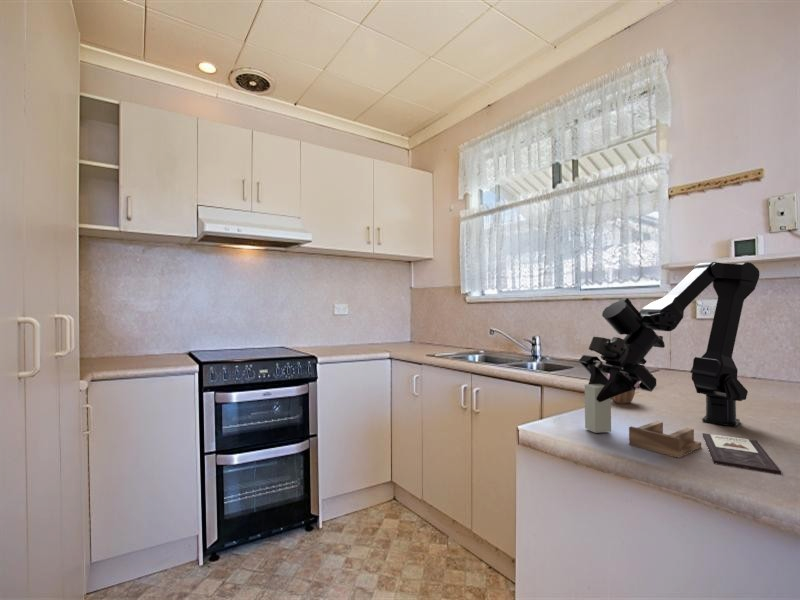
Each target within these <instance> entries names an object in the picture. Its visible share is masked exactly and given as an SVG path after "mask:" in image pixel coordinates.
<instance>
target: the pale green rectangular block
mask: <svg viewBox="0 0 800 600" xmlns="http://www.w3.org/2000/svg"><path fill="white" fill-rule="evenodd" d="M604 386H605V385H602V384H589V383H587V384H584V428H585V429H586V430H588V431H591V432H593V433H595V434H596V433H597V434H598V433H611V432H612V399H611V398H609V399H607V400H604V401H602V402H598V401H597V399H596V398H597V396H598V395H599V393H600V391H601V390H602V389H603V387H604Z"/></svg>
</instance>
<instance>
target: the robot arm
mask: <svg viewBox="0 0 800 600" xmlns="http://www.w3.org/2000/svg"><path fill="white" fill-rule="evenodd" d="M759 279H760V270H759V268H758V267H757V266H756V265H755V264H754V263H752V262H749V261H746V262H737V263H724V262H717V261H710V262H701V263H698V264H695V265H694V266H693V268H692V270H691V271H690V272H689V273H688V274H687V275H685V277H684V278H683V279H682V280H681V281H680V282H679V283H677V284H676V285H675V286H674V287H673V288H672V289H671V290H670V291H669V292H668V293H667V294H666V295H665V296H663V297H662V298H659V299H658V300H657V299H656V300H654V301H651V302H650V303H649V304H646V305H645V306H644V307H642V308H641V309H640V311H639V310H638V309H637V308H636V307H635V306H634V304H633V303H632V301H631V300H630V299H629V298H626V297H624V298H623V297H622V298H619V300H618V301H615V302H613V303H612V304H610V305H609V306H606V307H605V308H604V310H603V311H602V314H601V316H602V318H603V319H604V320H605V321H606V322H607V323H608V324H609V325H610V326H611V327H612V329H614V331H615V332H616V333H617V334H618V335H625V337H624V338H621V337H618V336H617V337H615V336H613V337H612V338H606V337H600V336H593V337H592V340H591V342H590V344H589V346H588V350H589V351H592V352H596V353H597V354H600V358H601V359H600V358H599V357H598V356H595V355H591V354H582V356H581V357H580V359H578V362H579V364H581V366H582V367H583V368H584V369H585V370H586V371H587V372H588V373H589V374H590V377H589V381H588V384H602V385H605V386H604V387H603V389H602V390H601V391H600V393H599V395H598V396H597V398H596V399H597V401H598V402H602V401H604V400H607V399H609V398H612V397H614V396H617V395H619V394H622V393H625V392H628V391H631V390H635V389H636V390H637V387H636V388H635V387H634V386H635V384H636V383H637V382H639V385H638V386H639V388H640V389H641V390H642V391H647V392H650V393H651V392H652V391H653V390H655V389H656V386H657V378H656V377H655V376H654V375H653V374H652V373H651V372H650V371H649V370H648V369H647V367H646V366H645V364H647V360H646V359H645V357H646V356H647V355H648V354H649V353H650V351H651V350H652V349H653V347H654V348H662V349H665V347H666V346H665V341H664V336H662V335H658V334H657V332H672V331H674V330H676V328H677V327H678V326H679V324H680V323H681V322H682V320H683V318H684V317H685V316H684V315H685V314H684V313H685V310H686V308H687V307H688V306H689V305H690V304H691V303H692V302H693V301H694V300H695V299H697V298H698V297H699V296H700V294H701V293H702V292H704V291H705V289H707V288H708V287H709V286H710V285H711V284H712V287H713V289H714V292H715V294H716V295H717V301H716V305H715V309H714V314H713V318H712V324H711V329H710V332H709V333H710V334H709V339H708V343H707V348H706V351H705V353H704V354H703V355H702V356H700V357H699V356H695V357H694V358H693V360H692V367H691V369H690V371H689V372H690V373H691V380H692V382H693V384H694V388H695V391H696V394H701V395H704V396H705V415H704V416H703V418H701V421H702V422H706V423H711V424H717V425H723V426H729V427H737V426H738V425H739V423H740V422H741V420H740V419H739V418H737V409H736V408H737V402H742V401H745V400H747V396H748V393H749V392H748V390H747V388H746V387H745V386H744V385H743V384H742V383H741V382H740V381H739V380H738V368H737V366H736V364H735V361H734V360H733V354H734V349H735V344H736V339H737V334H738V329H739V325H740V320H741V315H742V312H743V311H742V310H743V306H744V301H745V300H746V299H747V297H748V296H750V295H751V294H752V293H753V292H754V291H755V289H756V286H757V284H758V282H759ZM656 331H657V332H656ZM603 361H605V363H604V362H603ZM608 373H609V374H610V378H609V380H608V379H607V378H606V377H607V376H608ZM636 390H635V391H636Z"/></svg>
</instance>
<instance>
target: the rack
mask: <svg viewBox="0 0 800 600" xmlns="http://www.w3.org/2000/svg"><path fill="white" fill-rule="evenodd" d="M694 429H695V428H691V427H685V428H682V429H680V430H678V431H675V432H672V433H670V434H668V433H664V422H663V421H659V420H654V421H652V422H649V423H647V424H645V425H644V424H643V425H641V426H639V427H635V426H628V432H629V433H628V439H629V440H628V445H631V446H634V447H637V448H641V449H645V450H648V451H652V452H655V453H658V452H659V454H662V453H663V454H662V455H665V454H667V455H666V456H669V455H671V456H670V457H673V456H675V457H674V458H676V457H678V458H677V459H680V458H682V457H684V456H683V455H685V454H687V453H689V452H691V451H693V450H695V449H697V448H699V449H701V448H702V442H701V441H696V440H695V430H694ZM700 447H701V448H700ZM697 450H698V449H697ZM695 451H696V450H695ZM693 452H694V451H693ZM691 453H692V452H691ZM689 454H690V453H689ZM687 455H688V454H687ZM681 456H682V457H681ZM685 456H686V455H685ZM679 457H680V458H679Z"/></svg>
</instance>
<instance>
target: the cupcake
mask: <svg viewBox="0 0 800 600" xmlns="http://www.w3.org/2000/svg"><path fill="white" fill-rule="evenodd" d="M606 378H607V379H608V380H609V378H610V374H609V373H608V376H607V377H606ZM639 384H640V382H637V383H636V384H635V386H634V387H635V388H636V389H635V390H631V391H628V392H625V393H622V394H619V395H617V396H614V397H612V398H611V401H614V402H615V403H618V404H620V405H621V404H630V403H632V401H633V399H634V397H635V394H636V390H637V388H638V387H639V386H640V385H639Z"/></svg>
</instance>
